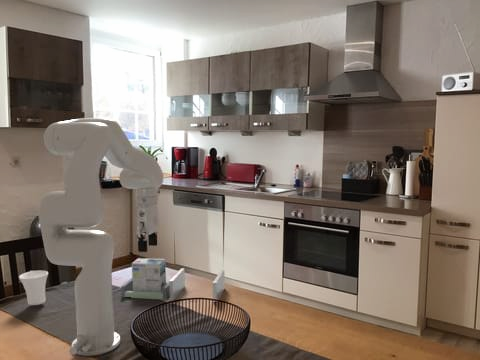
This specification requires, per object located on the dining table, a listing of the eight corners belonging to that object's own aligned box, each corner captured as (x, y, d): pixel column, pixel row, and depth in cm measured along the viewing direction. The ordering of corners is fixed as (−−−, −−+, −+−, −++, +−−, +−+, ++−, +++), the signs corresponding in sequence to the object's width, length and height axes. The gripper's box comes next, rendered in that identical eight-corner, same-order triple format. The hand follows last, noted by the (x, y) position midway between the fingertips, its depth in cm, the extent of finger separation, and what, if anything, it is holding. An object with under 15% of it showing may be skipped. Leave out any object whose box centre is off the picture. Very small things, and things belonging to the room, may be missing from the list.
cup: (47, 295, 151) (45, 267, 150) (52, 303, 143) (50, 274, 142) (19, 300, 146) (17, 272, 145) (22, 309, 138) (20, 279, 137)
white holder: (216, 303, 145) (216, 282, 144) (169, 300, 147) (169, 280, 147) (224, 288, 158) (224, 270, 158) (181, 286, 161) (181, 268, 160)
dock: (166, 299, 148) (165, 288, 148) (121, 297, 151) (121, 286, 151) (177, 287, 161) (176, 276, 160) (135, 285, 163) (135, 275, 163)
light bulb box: (166, 286, 158) (165, 258, 157) (161, 293, 151) (160, 263, 150) (138, 285, 159) (137, 257, 158) (132, 292, 153) (131, 262, 152)
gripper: (147, 204, 143) (149, 254, 144) (165, 198, 160) (166, 243, 161) (126, 204, 144) (128, 254, 146) (146, 198, 161) (147, 243, 163)
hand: (148, 248), depth 153 cm, fingers open, 9 cm apart
